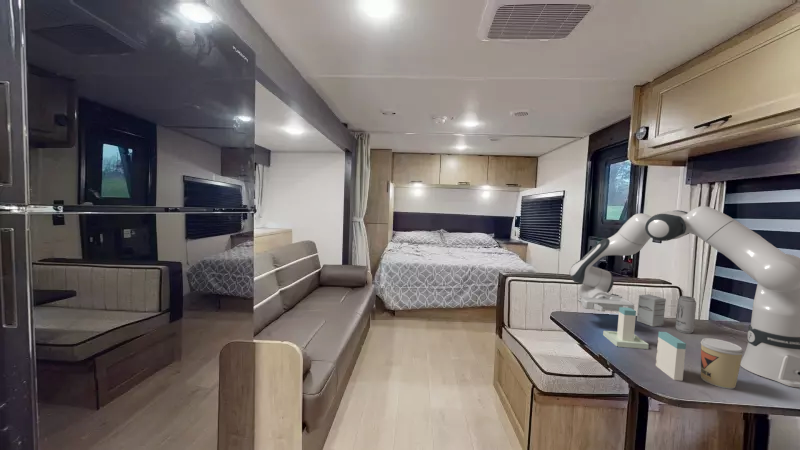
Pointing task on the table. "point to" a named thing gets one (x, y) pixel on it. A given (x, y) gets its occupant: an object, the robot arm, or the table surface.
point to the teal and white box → (670, 355)
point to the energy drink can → (686, 314)
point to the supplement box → (651, 310)
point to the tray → (630, 344)
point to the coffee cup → (720, 362)
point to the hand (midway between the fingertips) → (615, 310)
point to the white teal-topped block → (626, 324)
